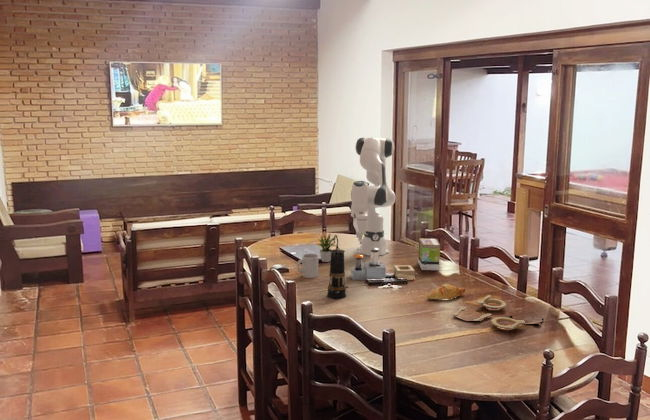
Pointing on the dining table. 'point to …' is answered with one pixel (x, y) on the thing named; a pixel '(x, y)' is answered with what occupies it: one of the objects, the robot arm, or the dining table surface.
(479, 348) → the dining table surface
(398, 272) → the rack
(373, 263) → the banded metal cylinder
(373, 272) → the socket block
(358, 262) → the orange rounded piece
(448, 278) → the dining table surface
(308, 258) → the mug
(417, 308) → the dining table surface
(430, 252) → the tea box
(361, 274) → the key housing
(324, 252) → the house plant
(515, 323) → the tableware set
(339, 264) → the lantern
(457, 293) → the croissant
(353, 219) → the robot arm
